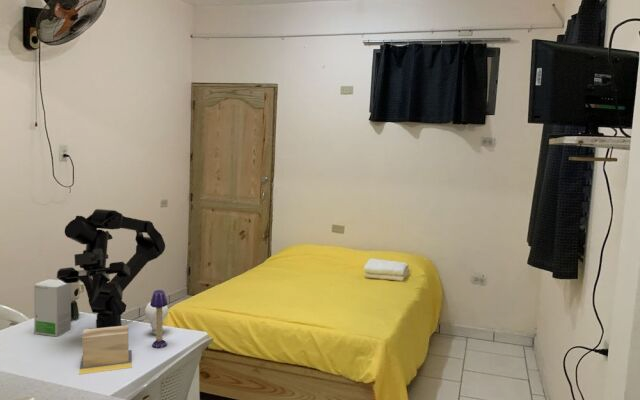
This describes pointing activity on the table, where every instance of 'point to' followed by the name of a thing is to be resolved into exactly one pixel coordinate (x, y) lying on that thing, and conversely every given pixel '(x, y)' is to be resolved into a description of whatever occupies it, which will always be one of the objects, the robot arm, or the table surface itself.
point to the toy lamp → (159, 316)
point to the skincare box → (52, 307)
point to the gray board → (106, 366)
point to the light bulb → (154, 316)
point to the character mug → (75, 298)
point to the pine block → (105, 346)
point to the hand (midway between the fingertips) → (91, 301)
